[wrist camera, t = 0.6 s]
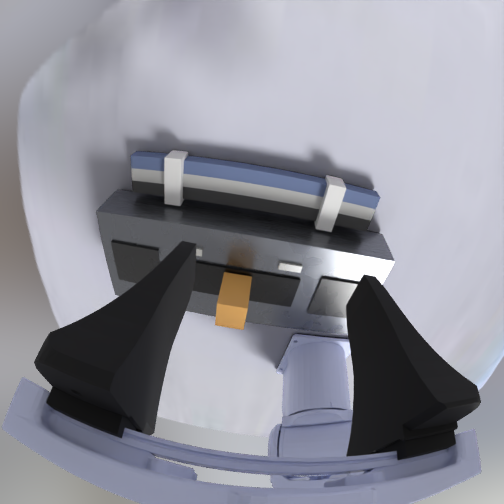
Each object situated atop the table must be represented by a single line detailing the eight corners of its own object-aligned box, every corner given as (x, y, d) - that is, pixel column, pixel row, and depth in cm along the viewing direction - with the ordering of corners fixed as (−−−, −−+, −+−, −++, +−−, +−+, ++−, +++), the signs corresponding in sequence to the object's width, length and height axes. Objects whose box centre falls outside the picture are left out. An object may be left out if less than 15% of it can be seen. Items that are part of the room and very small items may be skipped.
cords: (362, 227, 21) (366, 239, 20) (138, 189, 21) (129, 199, 20) (377, 187, 19) (384, 197, 18) (136, 147, 19) (126, 154, 17)
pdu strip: (345, 306, 27) (350, 336, 24) (129, 269, 26) (114, 296, 24) (382, 234, 21) (395, 263, 18) (117, 189, 21) (94, 212, 18)
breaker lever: (247, 298, 22) (243, 329, 19) (221, 294, 22) (215, 325, 19) (252, 276, 20) (247, 308, 18) (224, 271, 20) (217, 303, 18)
